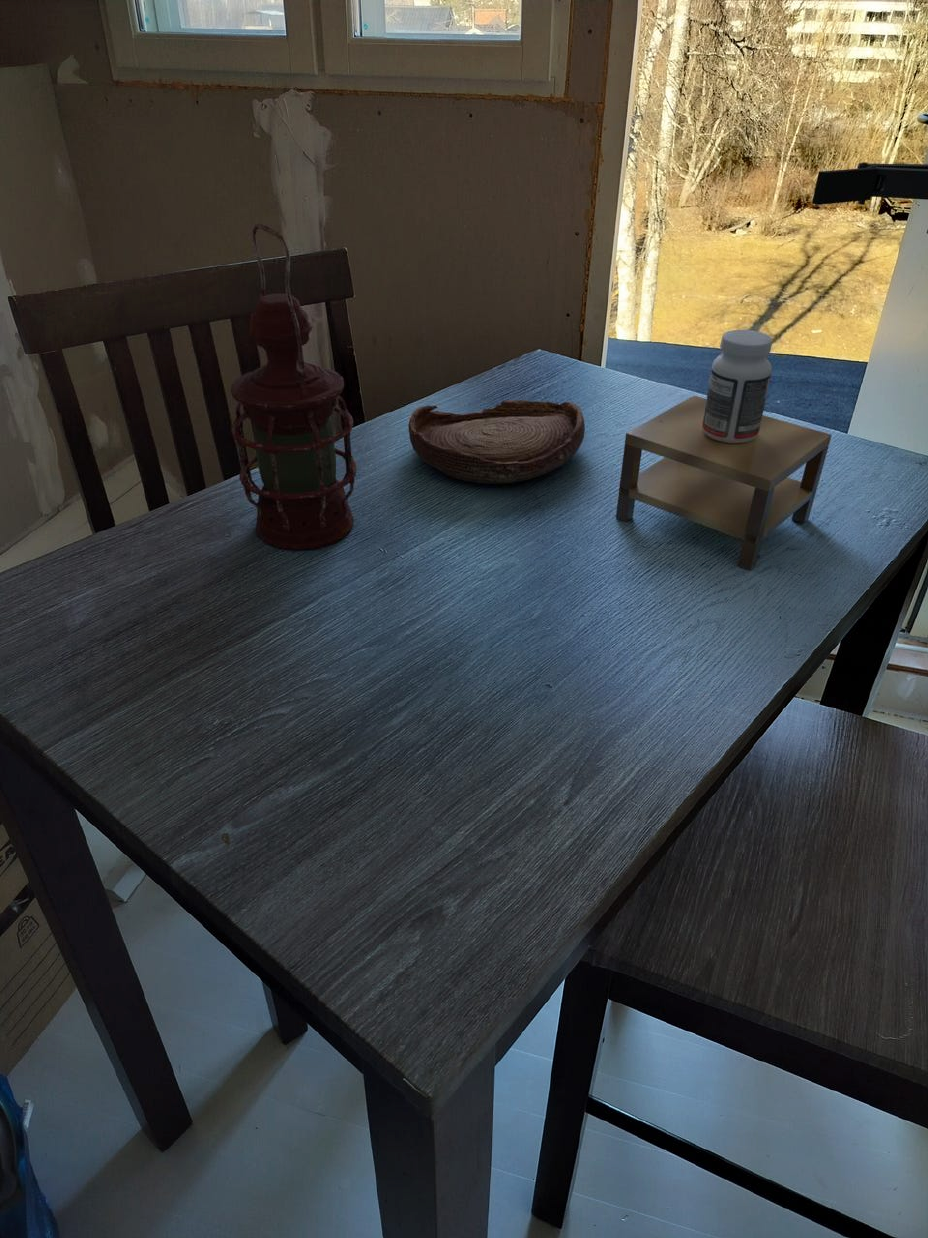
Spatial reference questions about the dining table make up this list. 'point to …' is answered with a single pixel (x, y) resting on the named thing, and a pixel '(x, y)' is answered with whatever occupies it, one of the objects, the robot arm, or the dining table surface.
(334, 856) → the dining table surface
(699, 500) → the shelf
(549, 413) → the basket
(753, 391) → the pill bottle
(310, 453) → the lantern
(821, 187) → the robot arm
